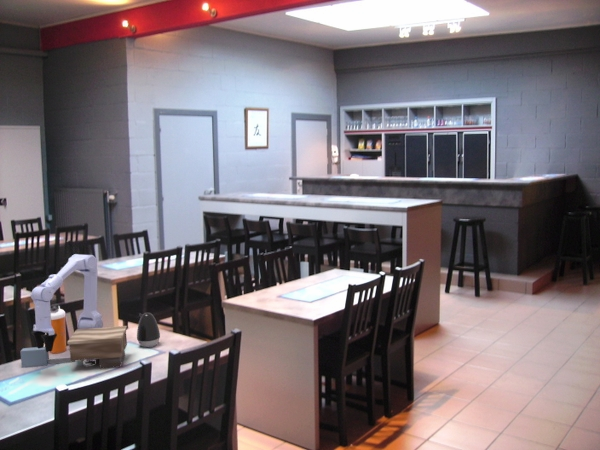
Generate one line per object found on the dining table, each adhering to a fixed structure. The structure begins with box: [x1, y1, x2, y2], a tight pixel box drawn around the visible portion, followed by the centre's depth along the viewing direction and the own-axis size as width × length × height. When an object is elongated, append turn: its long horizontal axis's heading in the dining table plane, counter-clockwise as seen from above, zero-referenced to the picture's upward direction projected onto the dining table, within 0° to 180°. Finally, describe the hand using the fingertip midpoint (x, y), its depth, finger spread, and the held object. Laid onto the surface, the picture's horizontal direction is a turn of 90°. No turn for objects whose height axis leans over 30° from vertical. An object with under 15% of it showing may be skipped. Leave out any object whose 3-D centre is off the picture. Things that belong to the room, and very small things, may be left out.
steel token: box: [82, 359, 97, 367], centre depth 261 cm, size 5×5×2 cm
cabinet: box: [66, 325, 128, 369], centre depth 260 cm, size 17×21×13 cm
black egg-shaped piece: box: [136, 312, 161, 348], centre depth 281 cm, size 10×10×15 cm
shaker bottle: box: [49, 305, 67, 354], centre depth 278 cm, size 9×9×20 cm
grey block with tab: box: [20, 346, 76, 369], centre depth 262 cm, size 4×21×7 cm, turn 98°
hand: (44, 349), depth 250 cm, fingers open, 7 cm apart
